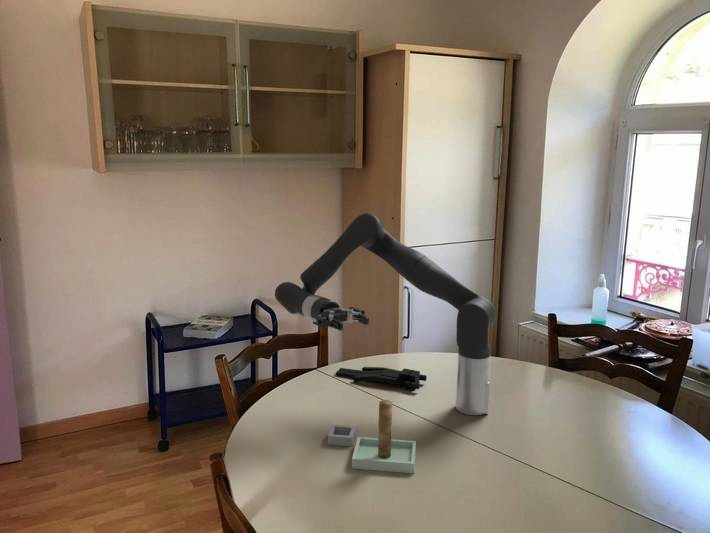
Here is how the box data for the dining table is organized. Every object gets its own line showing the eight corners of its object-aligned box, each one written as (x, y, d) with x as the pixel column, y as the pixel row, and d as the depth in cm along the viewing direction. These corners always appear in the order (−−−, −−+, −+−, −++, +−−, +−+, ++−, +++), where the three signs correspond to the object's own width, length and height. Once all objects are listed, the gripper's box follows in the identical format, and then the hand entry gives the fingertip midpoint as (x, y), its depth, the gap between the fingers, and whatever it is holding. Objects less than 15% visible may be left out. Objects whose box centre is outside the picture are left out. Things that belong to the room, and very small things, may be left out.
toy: (333, 391, 198) (419, 396, 186) (331, 374, 197) (416, 377, 184) (345, 379, 206) (427, 383, 194) (342, 363, 205) (425, 366, 192)
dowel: (391, 452, 149) (392, 400, 146) (390, 459, 146) (391, 406, 143) (378, 451, 149) (379, 399, 146) (377, 458, 146) (378, 405, 143)
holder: (355, 434, 160) (355, 426, 159) (352, 446, 154) (352, 437, 153) (332, 433, 161) (332, 424, 160) (327, 444, 154) (327, 435, 154)
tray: (415, 450, 152) (416, 441, 152) (414, 473, 142) (414, 463, 141) (357, 445, 154) (357, 436, 154) (351, 468, 143) (351, 458, 143)
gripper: (299, 301, 165) (333, 314, 152) (341, 293, 173) (376, 306, 160) (299, 327, 166) (333, 342, 154) (340, 318, 175) (375, 332, 162)
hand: (355, 323), depth 157 cm, fingers open, 8 cm apart
